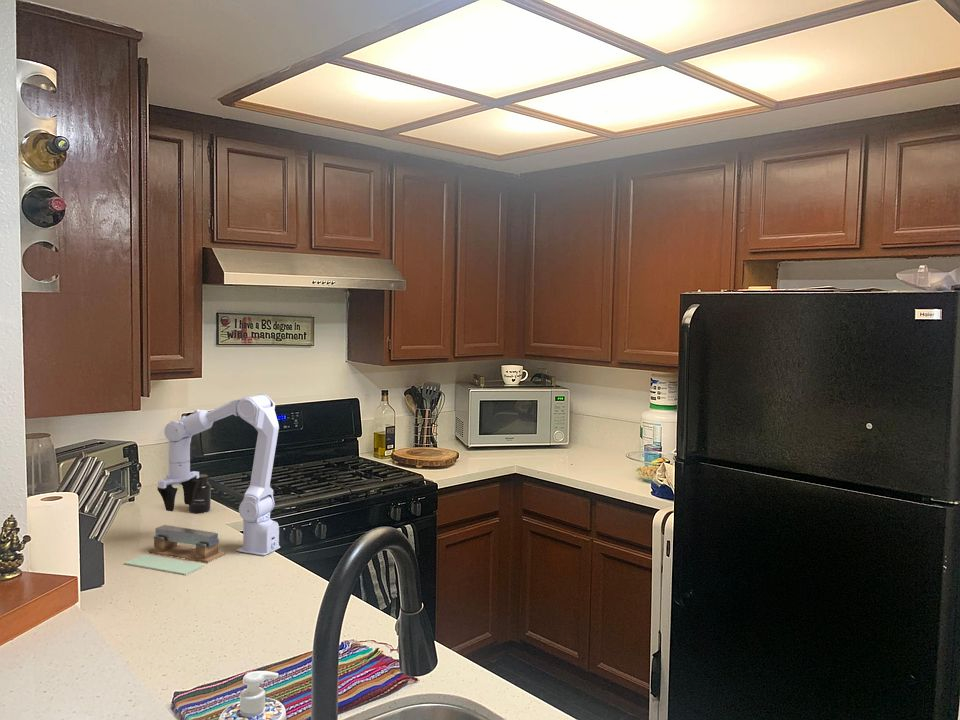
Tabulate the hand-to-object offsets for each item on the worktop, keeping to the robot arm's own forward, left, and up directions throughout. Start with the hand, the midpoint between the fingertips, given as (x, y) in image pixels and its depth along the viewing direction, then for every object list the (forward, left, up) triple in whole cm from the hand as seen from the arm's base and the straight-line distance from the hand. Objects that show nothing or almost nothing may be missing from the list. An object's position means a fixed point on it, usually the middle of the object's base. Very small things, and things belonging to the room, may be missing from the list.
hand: (179, 507), depth 212 cm
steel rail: (-10, +8, -6) cm, 14 cm away
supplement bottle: (+15, -28, -10) cm, 33 cm away
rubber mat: (-11, +18, -10) cm, 23 cm away
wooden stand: (-10, +8, -10) cm, 16 cm away
